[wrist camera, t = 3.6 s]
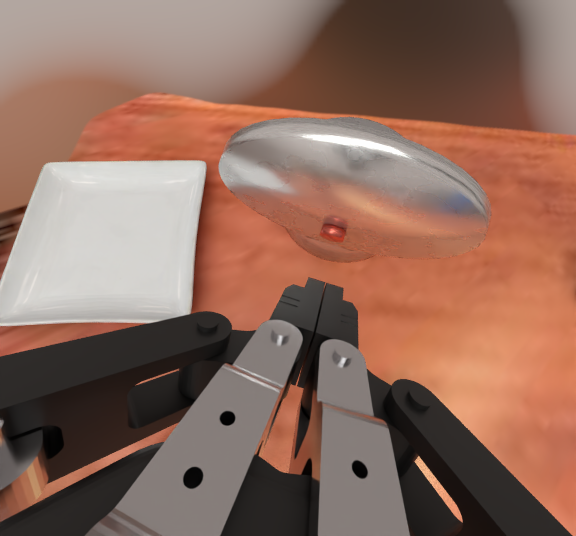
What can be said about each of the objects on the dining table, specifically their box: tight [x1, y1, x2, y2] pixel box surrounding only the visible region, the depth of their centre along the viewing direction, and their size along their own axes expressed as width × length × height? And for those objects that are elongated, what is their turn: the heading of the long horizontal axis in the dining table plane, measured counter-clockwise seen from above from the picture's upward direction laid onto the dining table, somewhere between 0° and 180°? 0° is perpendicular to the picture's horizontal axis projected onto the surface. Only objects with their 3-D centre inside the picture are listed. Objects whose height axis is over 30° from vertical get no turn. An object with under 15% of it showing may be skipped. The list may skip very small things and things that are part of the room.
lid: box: [219, 118, 491, 259], centre depth 24 cm, size 22×21×2 cm
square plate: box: [0, 160, 207, 326], centre depth 42 cm, size 27×27×4 cm
